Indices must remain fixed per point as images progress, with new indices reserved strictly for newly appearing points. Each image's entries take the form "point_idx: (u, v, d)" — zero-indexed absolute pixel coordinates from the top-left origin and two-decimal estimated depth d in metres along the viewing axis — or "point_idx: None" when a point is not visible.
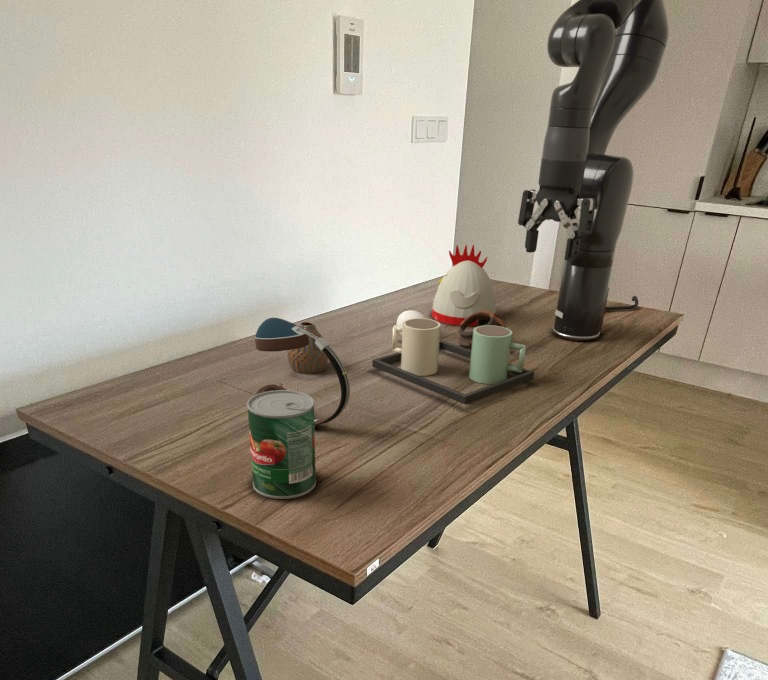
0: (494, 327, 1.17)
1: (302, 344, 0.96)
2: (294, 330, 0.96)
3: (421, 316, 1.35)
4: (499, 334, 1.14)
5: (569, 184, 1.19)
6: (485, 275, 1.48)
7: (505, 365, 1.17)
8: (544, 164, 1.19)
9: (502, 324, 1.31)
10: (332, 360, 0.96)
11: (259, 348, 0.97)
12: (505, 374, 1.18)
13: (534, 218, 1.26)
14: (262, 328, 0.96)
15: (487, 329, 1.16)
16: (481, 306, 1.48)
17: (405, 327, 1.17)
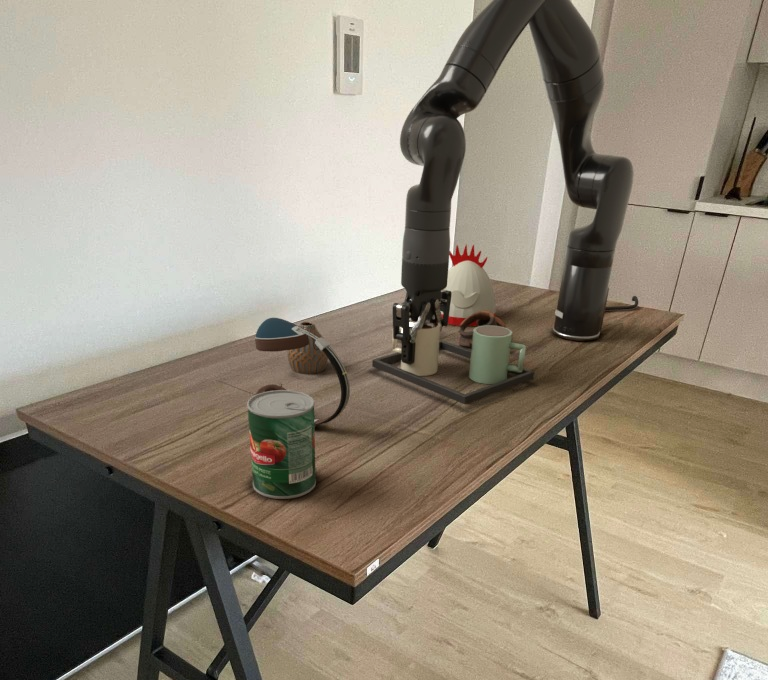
0: (494, 327, 1.17)
1: (302, 344, 0.96)
2: (294, 330, 0.96)
3: None
4: (499, 334, 1.14)
5: (402, 283, 1.13)
6: (485, 275, 1.48)
7: (505, 365, 1.17)
8: None
9: (502, 324, 1.31)
10: (332, 360, 0.96)
11: (259, 348, 0.97)
12: (505, 374, 1.18)
13: None
14: (262, 328, 0.96)
15: (487, 329, 1.16)
16: (481, 306, 1.48)
17: None
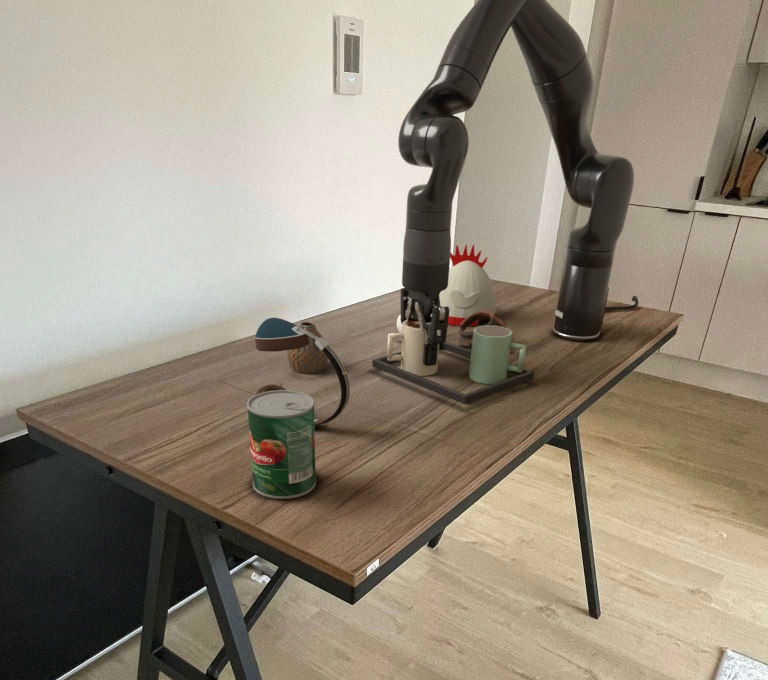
0: (494, 327, 1.17)
1: (302, 344, 0.96)
2: (294, 330, 0.96)
3: None
4: (499, 334, 1.14)
5: (422, 287, 1.11)
6: (485, 275, 1.48)
7: (505, 365, 1.17)
8: None
9: (502, 324, 1.31)
10: (332, 360, 0.96)
11: (259, 348, 0.97)
12: (505, 374, 1.18)
13: (406, 318, 1.20)
14: (262, 328, 0.96)
15: (487, 329, 1.16)
16: (481, 306, 1.48)
17: (420, 331, 1.15)
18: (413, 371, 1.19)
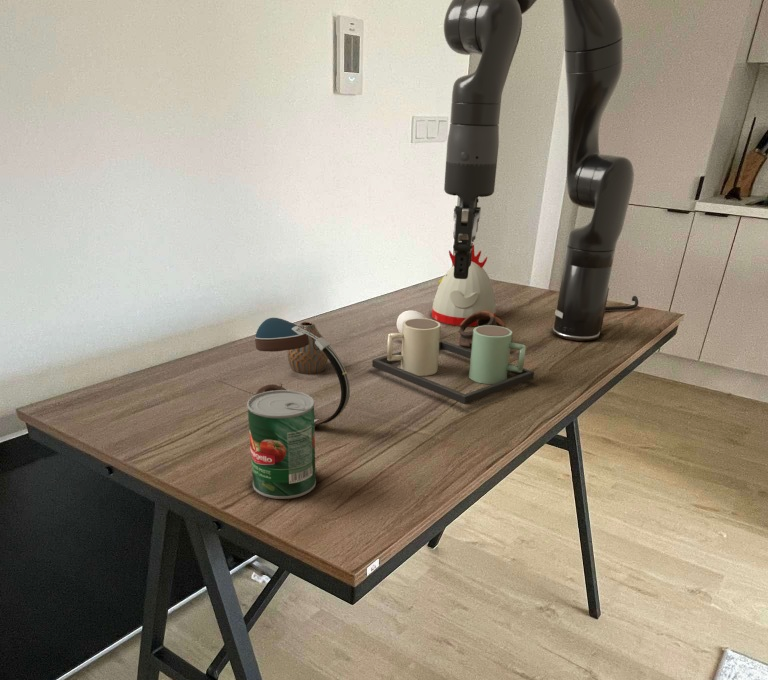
0: (494, 327, 1.17)
1: (302, 344, 0.96)
2: (294, 330, 0.96)
3: (421, 316, 1.35)
4: (499, 334, 1.14)
5: (454, 189, 1.04)
6: (485, 275, 1.48)
7: (505, 365, 1.17)
8: None
9: (502, 324, 1.31)
10: (332, 360, 0.96)
11: (259, 348, 0.97)
12: (505, 374, 1.18)
13: None
14: (262, 328, 0.96)
15: (487, 329, 1.16)
16: (481, 306, 1.48)
17: (420, 331, 1.15)
18: (413, 371, 1.19)
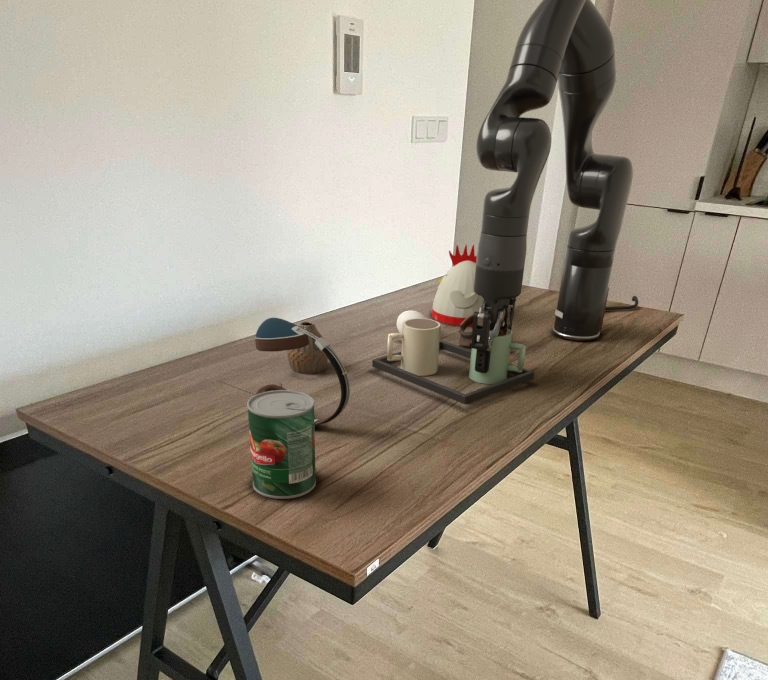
0: None
1: (302, 344, 0.96)
2: (294, 330, 0.96)
3: (421, 316, 1.35)
4: (499, 334, 1.14)
5: (478, 290, 1.10)
6: None
7: (505, 365, 1.17)
8: None
9: None
10: (332, 360, 0.96)
11: (259, 348, 0.97)
12: (505, 374, 1.18)
13: None
14: (262, 328, 0.96)
15: None
16: None
17: (420, 331, 1.15)
18: (413, 371, 1.19)
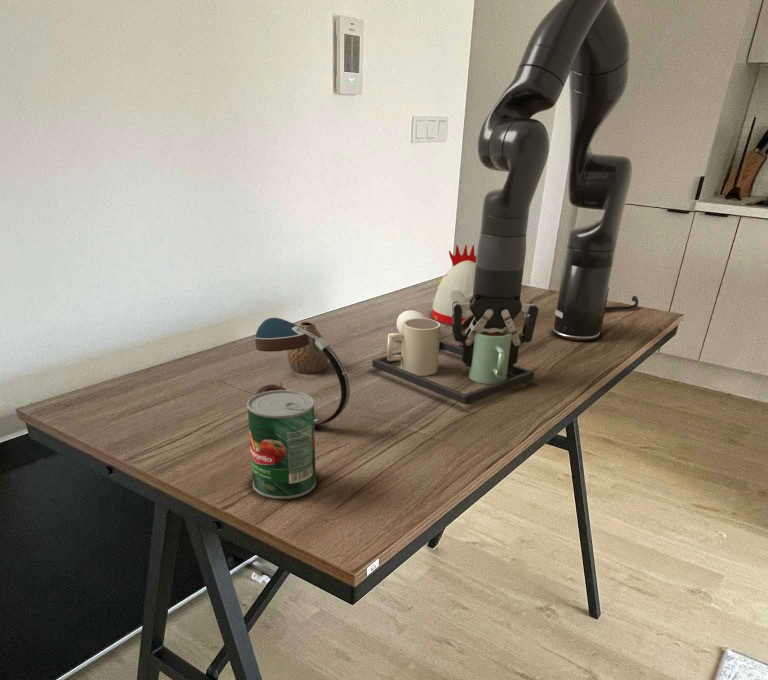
0: (503, 329, 1.16)
1: (302, 344, 0.96)
2: (294, 330, 0.96)
3: (421, 316, 1.35)
4: (488, 334, 1.14)
5: None
6: None
7: (490, 367, 1.16)
8: None
9: None
10: (332, 360, 0.96)
11: (259, 348, 0.97)
12: (491, 377, 1.16)
13: None
14: (262, 328, 0.96)
15: (492, 328, 1.17)
16: None
17: (420, 331, 1.15)
18: (413, 371, 1.19)
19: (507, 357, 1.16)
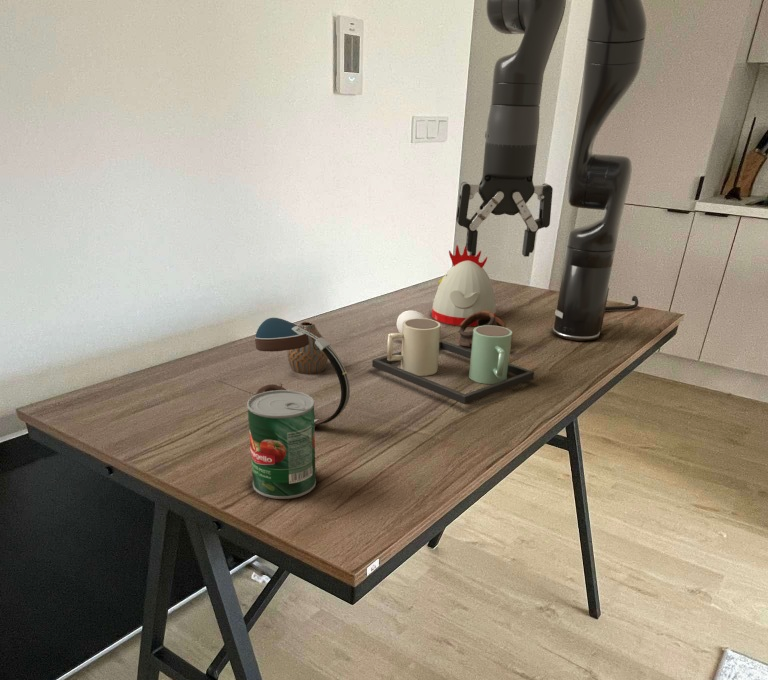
0: (503, 329, 1.16)
1: (302, 344, 0.96)
2: (294, 330, 0.96)
3: (421, 316, 1.35)
4: (488, 334, 1.14)
5: None
6: (485, 275, 1.48)
7: (490, 367, 1.16)
8: None
9: (502, 324, 1.31)
10: (332, 360, 0.96)
11: (259, 348, 0.97)
12: (491, 377, 1.16)
13: None
14: (262, 328, 0.96)
15: (492, 328, 1.17)
16: (481, 306, 1.48)
17: (420, 331, 1.15)
18: (413, 371, 1.19)
19: (507, 357, 1.16)
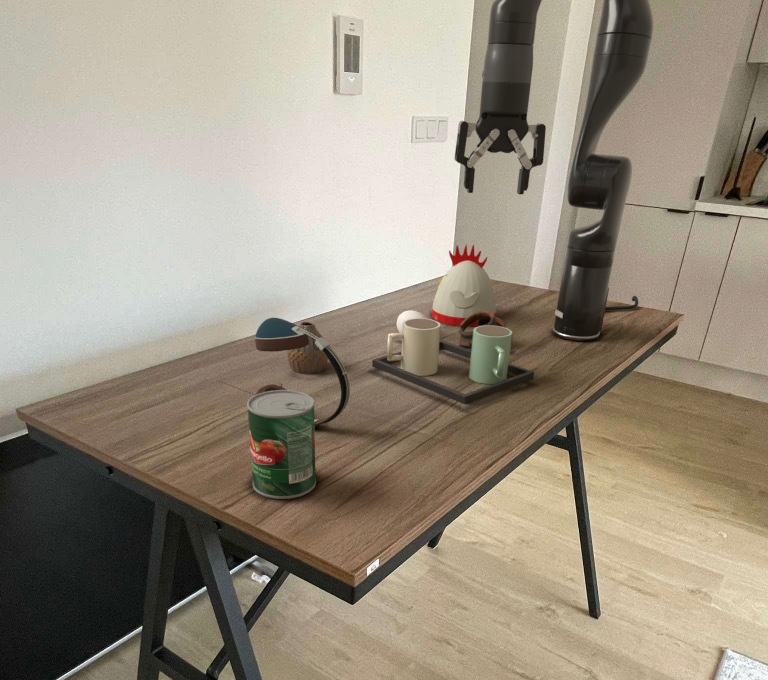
0: (503, 329, 1.16)
1: (302, 344, 0.96)
2: (294, 330, 0.96)
3: (421, 316, 1.35)
4: (488, 334, 1.14)
5: None
6: (485, 275, 1.48)
7: (490, 367, 1.16)
8: None
9: (502, 324, 1.31)
10: (332, 360, 0.96)
11: (259, 348, 0.97)
12: (491, 377, 1.16)
13: None
14: (262, 328, 0.96)
15: (492, 328, 1.17)
16: (481, 306, 1.48)
17: (420, 331, 1.15)
18: (413, 371, 1.19)
19: (507, 357, 1.16)
